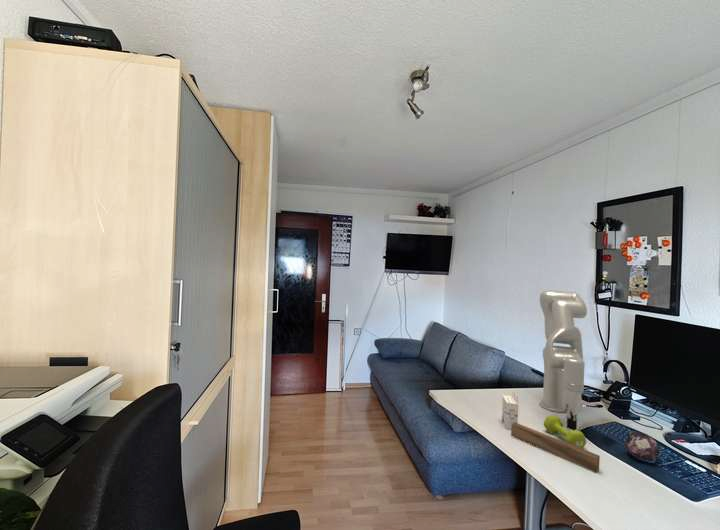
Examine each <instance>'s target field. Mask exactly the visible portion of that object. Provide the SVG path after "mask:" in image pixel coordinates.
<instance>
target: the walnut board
mask: <svg viewBox="0 0 720 530" xmlns="http://www.w3.org/2000/svg"><path fill="white" fill-rule="evenodd" d="M510 430H511V431H510V433H511V434H510V436H511V435H512V436H514V437H513V438H515V437H516V438H515V439H517V438H518V439H517V440H519V439H520V440H519V441H522V442H524V441H525V443H526V442H527V443H526V444H529V443H530V444H529V445H531V444H532V445H531V446H533V445H534V447H536V446H537V447H536V448H538V447H539V448H538V449H540V448H541V450H542V449H543V451H545V452H547V453H549V454H552V455H554V456H557V457H559V458H561V459H563V460H566V461H568V462H570V463H572V464H575V465H578V466H580V467H582V468H584V469H587V470H589V471H591V472H594V473H598V472H599V471H600V460H601V459H600V458H601V456H600V455H599V454H596V453H593V452H591V451H589V450H587V449H584V448H583V449H581V448H579V447H576V446H574V445H571V444H569V443H566V441H565V440H561V439H558V438H556V437H554V436H550V435H549V434H547V433H543V432H540V431H539V430H536V429H534V428H531V427H528V426H526V425H523V424H520V423H519V422H518V423H516V422H514V423H513V424H512V426H511V429H510ZM512 436H511V437H512Z"/></svg>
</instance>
